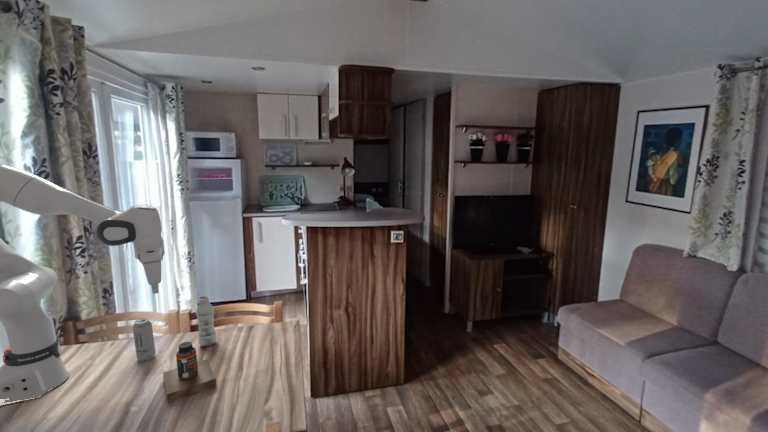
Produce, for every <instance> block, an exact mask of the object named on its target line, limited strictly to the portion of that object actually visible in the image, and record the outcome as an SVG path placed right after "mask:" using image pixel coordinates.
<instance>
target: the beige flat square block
mask: <svg viewBox="0 0 768 432" xmlns="http://www.w3.org/2000/svg"><path fill="white" fill-rule="evenodd" d="M197 366H198V373H197V375H196V376H195V377H193V378H191V379H188V380H181V379H179V377H178V369H177V368H174V369H171V370H167V371H162V372H163V373H162V377H163V383H164V387H165V393H166V399H167V403H168V404H170V403H172V402H176V401H179V400H182V399H184V398H187V397H189V396H193V395H196V394H199V393H201V392H205V391H207V390H210V389H213V388H216V387H217V380H216V376H215V374H214V372H213V369H212V367H211V364H210V362H209V360H208V359H204V360H200V361H197Z"/></svg>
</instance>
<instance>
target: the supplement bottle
mask: <svg viewBox="0 0 768 432" xmlns="http://www.w3.org/2000/svg"><path fill="white" fill-rule="evenodd" d="M175 359H176V360H175V361H176V367H177V368H176V369H178V377H179V379H181V380H188V379H191V378H193V377H195V376H196V375H197V373H198V366H197V362H198V358H197V349H196V348H195V347H193V342H192V341H183V342H182V343H179V345H178V350H177V352H176V353H175Z"/></svg>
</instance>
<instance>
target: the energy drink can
mask: <svg viewBox="0 0 768 432" xmlns="http://www.w3.org/2000/svg"><path fill="white" fill-rule="evenodd" d="M132 334H133V340H134V341H133V342H134V347H135V354H136V359H137V360H138V361H139V362H142V363H143V362H147V361H150V360H152V359H154V357H155V355H156V347H155V346H156V345H155V339H154V330H153V323H152V321H150V319H149V318H147V317H145V318H140V319H136V320H134V322H133V325H132Z"/></svg>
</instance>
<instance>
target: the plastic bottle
mask: <svg viewBox="0 0 768 432" xmlns="http://www.w3.org/2000/svg"><path fill="white" fill-rule="evenodd" d="M198 304H199V305H198V306H197V308H196V310H195V315H196V319H197V323H198V338H197V339H198V345H200V346H201V347H209V346H210V347H211V346H213V345H214V344H215V343H216V342H217V339H218V337H217V333H216V329H215V326H214V325H215V324H214V323H215V321H214V319H215V317H214V316H215V308H214V305H212V304H211V303H210V297H209V296H207V295H203V296H199V297H198Z"/></svg>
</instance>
